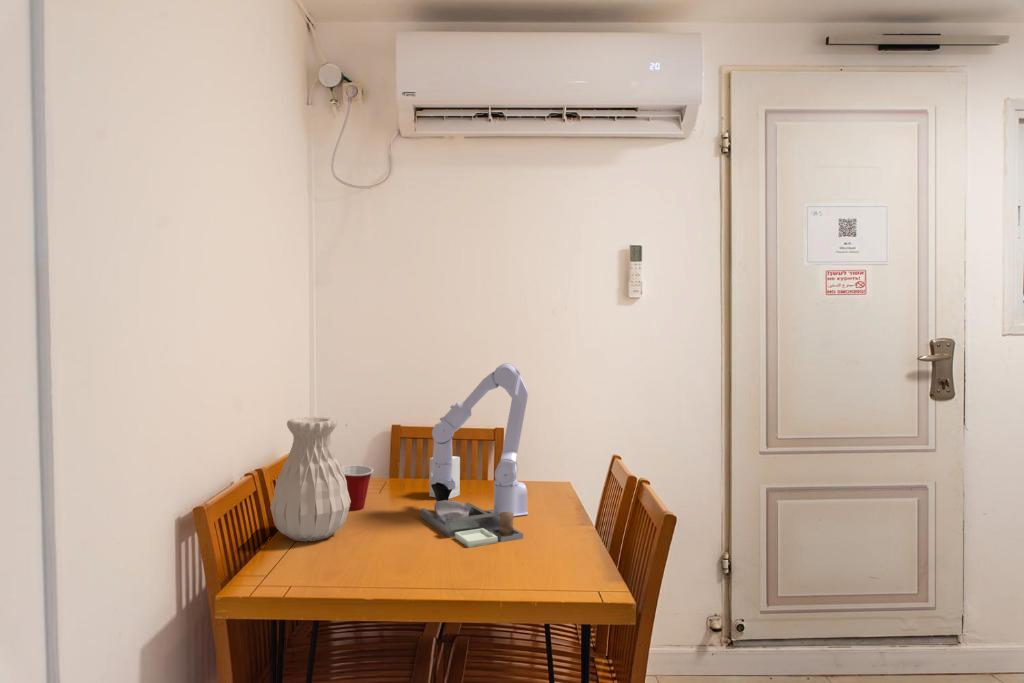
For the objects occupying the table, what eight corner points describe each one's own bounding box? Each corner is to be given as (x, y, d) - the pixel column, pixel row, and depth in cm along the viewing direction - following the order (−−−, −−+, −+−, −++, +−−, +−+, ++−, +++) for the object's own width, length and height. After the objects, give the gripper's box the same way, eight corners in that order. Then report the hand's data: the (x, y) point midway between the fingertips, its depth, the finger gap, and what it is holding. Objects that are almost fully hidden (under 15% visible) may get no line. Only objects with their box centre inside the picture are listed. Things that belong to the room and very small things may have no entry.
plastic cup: (351, 515, 189) (352, 474, 189) (328, 508, 196) (328, 468, 195) (380, 507, 198) (381, 468, 197) (357, 501, 204) (357, 463, 204)
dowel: (508, 533, 175) (509, 511, 175) (515, 537, 171) (515, 514, 171) (496, 535, 173) (497, 512, 173) (503, 539, 170) (503, 516, 170)
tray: (483, 533, 174) (483, 528, 174) (497, 542, 167) (497, 536, 167) (454, 538, 170) (455, 532, 170) (468, 547, 163) (468, 541, 163)
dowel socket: (511, 531, 177) (511, 526, 177) (523, 538, 171) (523, 533, 171) (489, 534, 173) (489, 530, 173) (500, 541, 168) (501, 537, 168)
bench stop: (468, 510, 196) (468, 497, 196) (501, 529, 178) (502, 515, 178) (420, 516, 189) (420, 503, 189) (449, 537, 170) (449, 522, 170)
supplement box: (460, 495, 214) (461, 456, 214) (446, 500, 208) (446, 460, 208) (442, 492, 218) (443, 454, 218) (428, 496, 212) (428, 457, 212)
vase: (365, 535, 171) (367, 420, 170) (293, 553, 157) (294, 428, 156) (326, 519, 185) (327, 412, 184) (256, 534, 171) (257, 418, 170)
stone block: (464, 518, 194) (431, 512, 192) (467, 502, 194) (434, 496, 192) (469, 531, 183) (434, 526, 181) (473, 514, 183) (438, 509, 181)
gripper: (421, 459, 199) (420, 503, 199) (439, 468, 186) (438, 516, 186) (442, 457, 202) (441, 501, 202) (462, 466, 189) (461, 513, 189)
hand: (441, 508), depth 194 cm, fingers closed
